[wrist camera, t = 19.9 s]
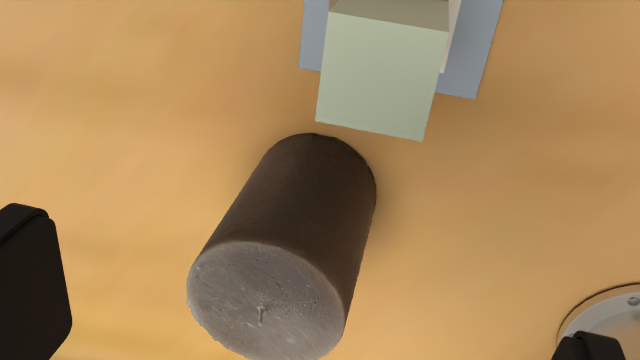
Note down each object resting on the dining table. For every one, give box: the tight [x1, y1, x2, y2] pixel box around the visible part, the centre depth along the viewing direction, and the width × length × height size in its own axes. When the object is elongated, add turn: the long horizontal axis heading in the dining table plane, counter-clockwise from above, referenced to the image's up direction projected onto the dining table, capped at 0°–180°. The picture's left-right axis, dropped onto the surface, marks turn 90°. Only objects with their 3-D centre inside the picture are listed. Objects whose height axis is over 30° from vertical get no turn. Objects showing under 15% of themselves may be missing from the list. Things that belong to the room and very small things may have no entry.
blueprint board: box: [298, 0, 503, 100], centre depth 33 cm, size 12×10×1 cm
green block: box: [315, 0, 449, 142], centre depth 26 cm, size 5×5×6 cm
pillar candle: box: [187, 134, 376, 360], centre depth 36 cm, size 10×10×15 cm
